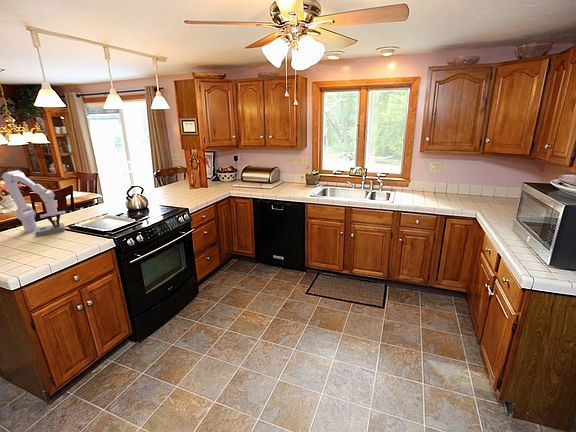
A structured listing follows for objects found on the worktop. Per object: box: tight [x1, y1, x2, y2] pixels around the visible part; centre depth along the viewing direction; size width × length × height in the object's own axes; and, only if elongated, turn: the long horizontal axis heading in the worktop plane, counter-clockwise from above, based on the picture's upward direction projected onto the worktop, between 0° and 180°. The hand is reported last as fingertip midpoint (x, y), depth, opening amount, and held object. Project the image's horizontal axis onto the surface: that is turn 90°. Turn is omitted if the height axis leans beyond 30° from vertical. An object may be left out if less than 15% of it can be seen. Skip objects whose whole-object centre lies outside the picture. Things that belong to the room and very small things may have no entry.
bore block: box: [34, 222, 65, 237], centre depth 216 cm, size 12×16×3 cm
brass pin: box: [52, 219, 59, 227], centre depth 217 cm, size 2×2×6 cm
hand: (56, 225), depth 217 cm, fingers closed on brass pin, 2 cm apart
